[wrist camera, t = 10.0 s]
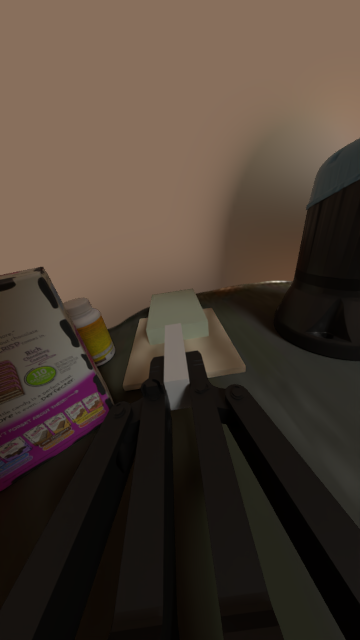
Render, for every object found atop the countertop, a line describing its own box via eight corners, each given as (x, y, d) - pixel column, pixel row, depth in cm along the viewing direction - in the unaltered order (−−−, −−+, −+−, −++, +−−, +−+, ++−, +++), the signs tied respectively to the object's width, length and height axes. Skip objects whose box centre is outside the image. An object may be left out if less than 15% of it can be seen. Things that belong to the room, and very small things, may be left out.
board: (211, 311, 38) (211, 307, 37) (245, 371, 22) (245, 366, 22) (141, 322, 38) (139, 319, 37) (124, 391, 22) (122, 386, 22)
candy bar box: (108, 388, 23) (46, 264, 15) (119, 416, 19) (44, 271, 11) (3, 446, 18) (-177, 308, 10) (-10, 500, 14) (-314, 346, 6)
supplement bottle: (121, 346, 31) (101, 294, 26) (106, 369, 26) (78, 310, 21) (93, 347, 32) (69, 296, 27) (74, 369, 27) (40, 313, 22)
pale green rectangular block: (208, 335, 28) (193, 300, 42) (207, 320, 27) (192, 288, 41) (150, 345, 28) (154, 306, 42) (145, 330, 27) (152, 295, 41)
